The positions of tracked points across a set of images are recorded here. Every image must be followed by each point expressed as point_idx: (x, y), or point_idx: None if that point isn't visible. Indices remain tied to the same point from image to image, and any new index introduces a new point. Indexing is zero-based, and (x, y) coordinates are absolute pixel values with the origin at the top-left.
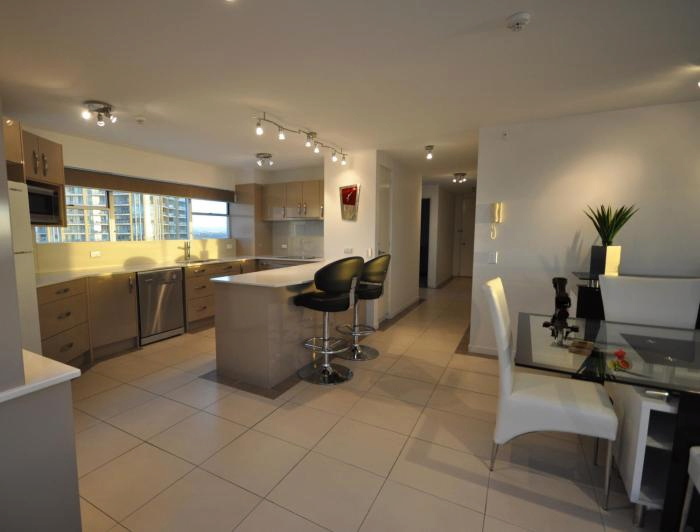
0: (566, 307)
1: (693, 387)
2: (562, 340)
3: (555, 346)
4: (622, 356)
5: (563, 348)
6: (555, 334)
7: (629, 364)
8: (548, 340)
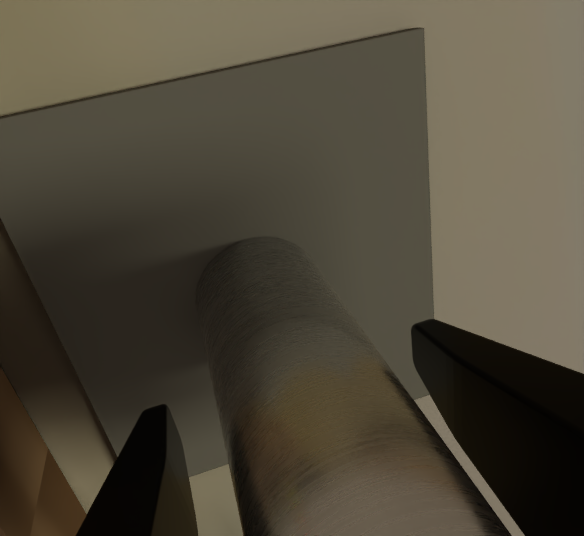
0: None
1: None
2: (219, 386)
3: (300, 121)
4: None
5: (68, 119)
6: (549, 447)
7: None
8: None
